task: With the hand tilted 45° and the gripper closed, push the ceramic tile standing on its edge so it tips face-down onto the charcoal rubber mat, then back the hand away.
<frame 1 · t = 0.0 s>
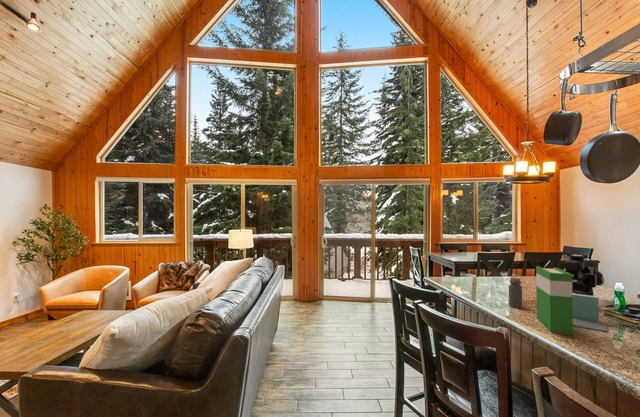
hand: (565, 279, 148), 17 cm above the kitchen island counter, tool horizontal, fingers open, 9 cm apart
tile: (582, 319, 141), on the kitchen island counter
hardback book: (553, 326, 132), on the kitchen island counter
mat: (582, 324, 135), on the kitchen island counter
bottle: (515, 306, 161), on the kitchen island counter
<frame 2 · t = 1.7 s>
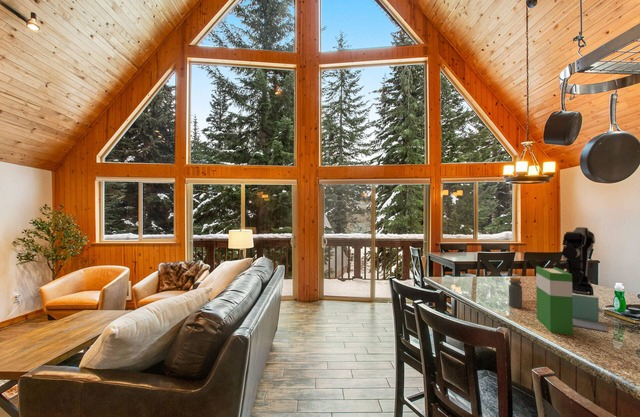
hand: (574, 288, 153), 11 cm above the kitchen island counter, tool pointing down, fingers open, 6 cm apart
nothing on the kitchen island counter moved.
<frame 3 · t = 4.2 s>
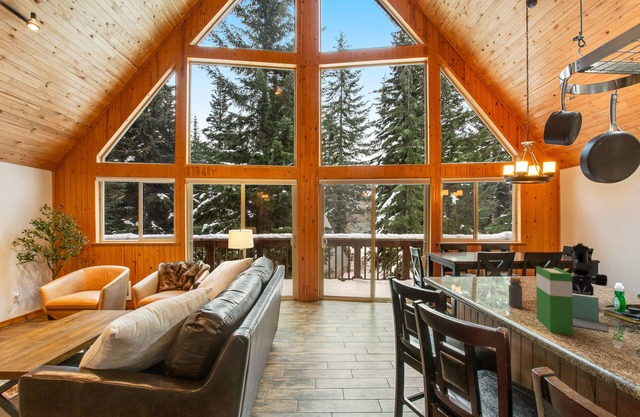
hand: (581, 292, 147), 11 cm above the kitchen island counter, tool tilted 45°, fingers closed
nothing on the kitchen island counter moved.
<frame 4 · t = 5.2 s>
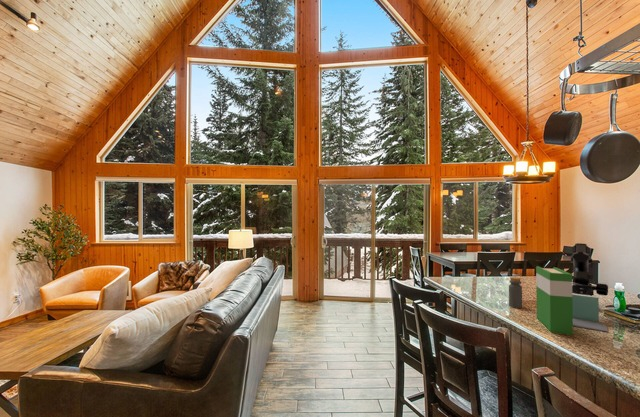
hand: (581, 302, 145), 7 cm above the kitchen island counter, tool tilted 45°, fingers closed
nothing on the kitchen island counter moved.
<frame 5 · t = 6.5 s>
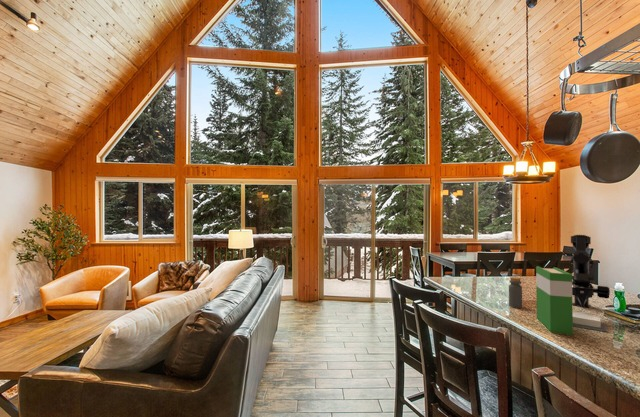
hand: (582, 305, 139), 7 cm above the kitchen island counter, tool tilted 45°, fingers closed
tile: (582, 315, 140), point 2 cm above the kitchen island counter, tilted 90°, touching mat
everything else where it was.
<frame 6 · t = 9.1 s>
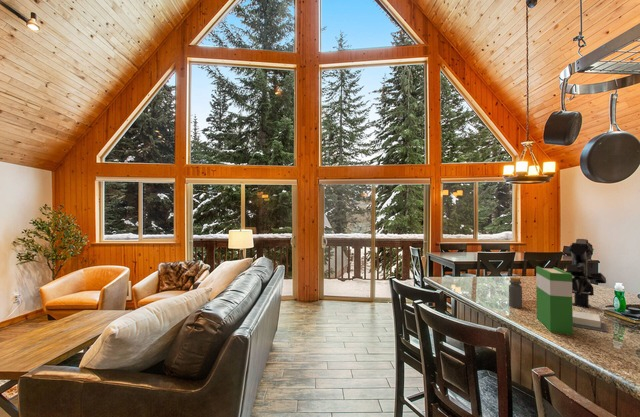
hand: (578, 294, 147), 10 cm above the kitchen island counter, tool tilted 35°, fingers closed
nothing on the kitchen island counter moved.
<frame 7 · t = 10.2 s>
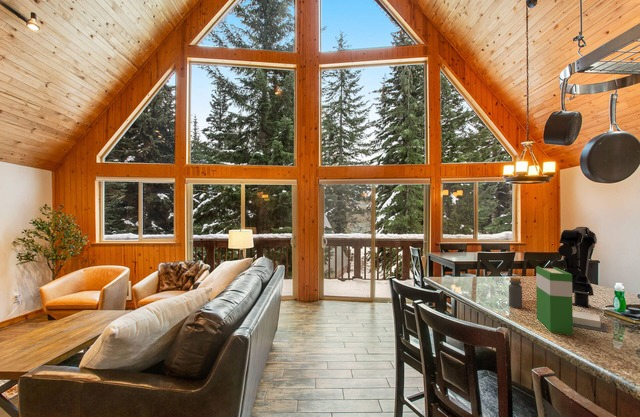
hand: (572, 286, 154), 12 cm above the kitchen island counter, tool pointing down, fingers closed
nothing on the kitchen island counter moved.
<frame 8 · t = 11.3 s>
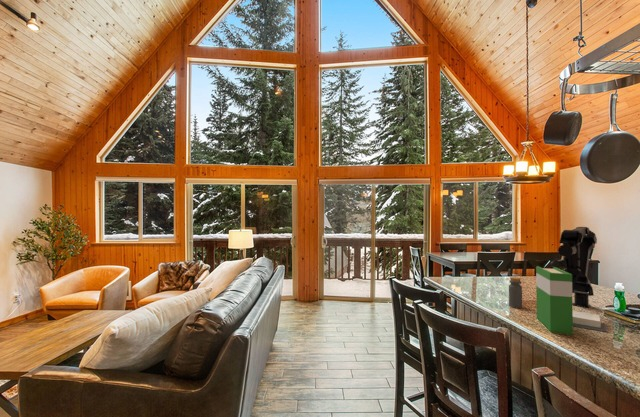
hand: (572, 286, 154), 12 cm above the kitchen island counter, tool pointing down, fingers closed
nothing on the kitchen island counter moved.
at the end: tile tilted 90°; tile touching mat; tile inside the target area (1.5 cm from its centre), point 2.2 cm above the kitchen island counter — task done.
